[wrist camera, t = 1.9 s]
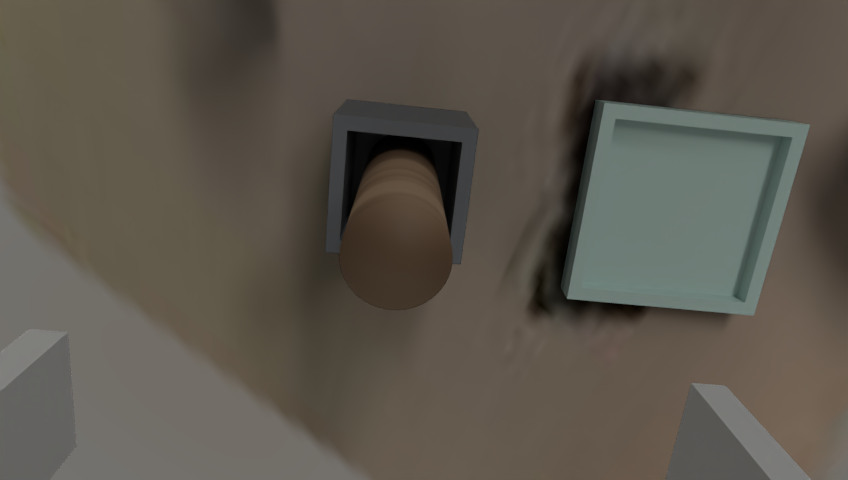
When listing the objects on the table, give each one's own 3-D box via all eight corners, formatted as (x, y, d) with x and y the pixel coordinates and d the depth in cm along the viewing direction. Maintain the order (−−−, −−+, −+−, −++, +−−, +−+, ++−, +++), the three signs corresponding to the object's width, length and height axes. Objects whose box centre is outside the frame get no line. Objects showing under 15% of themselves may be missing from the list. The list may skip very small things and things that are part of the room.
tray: (595, 99, 37) (604, 102, 35) (791, 120, 38) (810, 124, 36) (560, 287, 41) (566, 298, 39) (739, 303, 41) (753, 315, 40)
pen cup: (347, 99, 37) (333, 114, 30) (466, 111, 37) (478, 129, 30) (339, 214, 39) (325, 252, 32) (451, 225, 39) (460, 264, 33)
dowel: (370, 129, 37) (343, 198, 21) (438, 136, 37) (459, 209, 22) (365, 195, 38) (335, 305, 23) (430, 202, 38) (445, 314, 23)
